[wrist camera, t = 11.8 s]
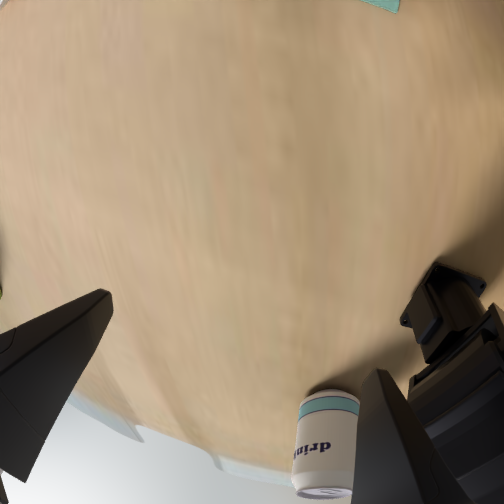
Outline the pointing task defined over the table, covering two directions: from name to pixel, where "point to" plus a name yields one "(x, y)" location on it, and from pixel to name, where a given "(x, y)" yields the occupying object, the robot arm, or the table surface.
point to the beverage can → (325, 445)
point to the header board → (385, 4)
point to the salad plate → (3, 3)
